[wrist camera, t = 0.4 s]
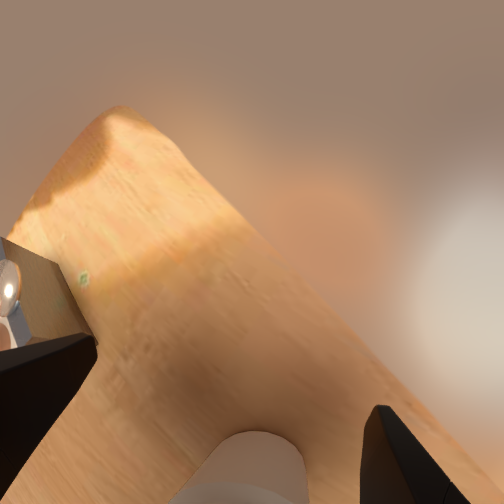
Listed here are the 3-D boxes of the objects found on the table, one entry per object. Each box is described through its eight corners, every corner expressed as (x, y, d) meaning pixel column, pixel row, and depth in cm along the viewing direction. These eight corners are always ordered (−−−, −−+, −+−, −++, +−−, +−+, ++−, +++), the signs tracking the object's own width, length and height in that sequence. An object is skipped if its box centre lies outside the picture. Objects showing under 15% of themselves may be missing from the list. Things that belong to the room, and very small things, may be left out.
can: (192, 460, 20) (121, 527, 9) (261, 409, 21) (231, 467, 9) (254, 517, 18) (226, 607, 6) (324, 470, 19) (347, 557, 7)
